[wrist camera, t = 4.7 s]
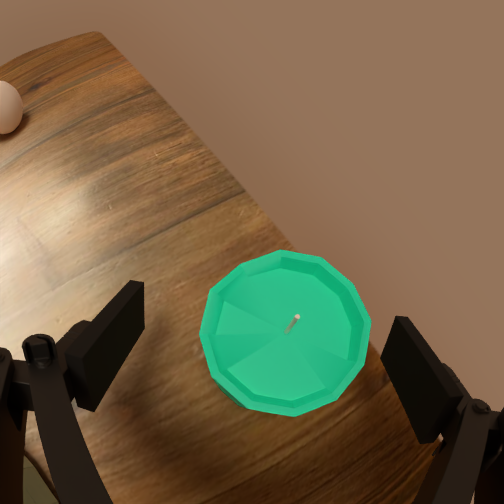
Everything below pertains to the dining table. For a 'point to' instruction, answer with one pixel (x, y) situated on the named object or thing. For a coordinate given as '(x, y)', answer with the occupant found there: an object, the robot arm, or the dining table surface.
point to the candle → (284, 333)
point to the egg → (9, 108)
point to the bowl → (35, 486)
